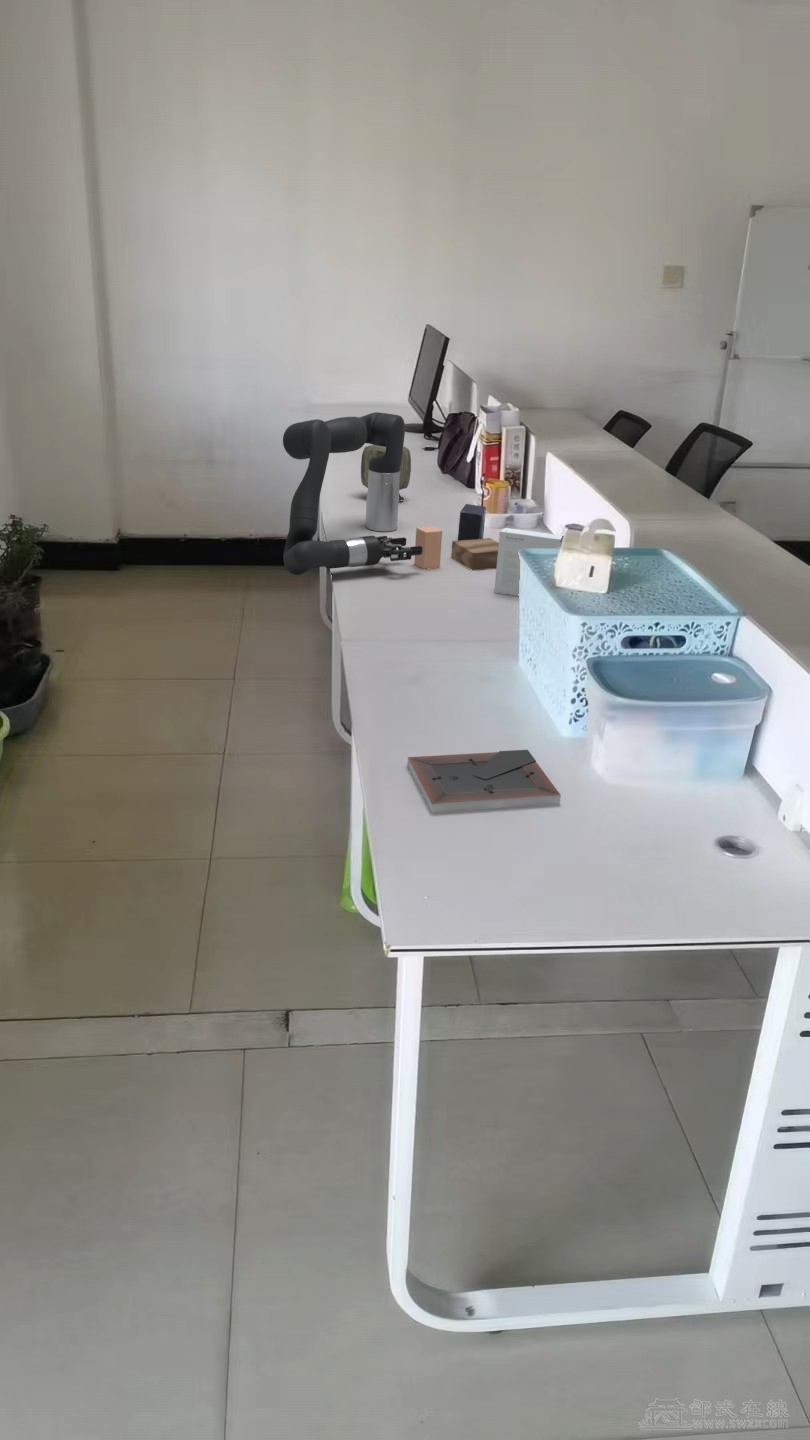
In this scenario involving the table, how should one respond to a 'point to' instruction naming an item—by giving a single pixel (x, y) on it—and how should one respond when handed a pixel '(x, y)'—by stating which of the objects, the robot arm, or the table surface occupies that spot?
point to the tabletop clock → (378, 451)
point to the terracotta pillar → (428, 547)
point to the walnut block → (476, 553)
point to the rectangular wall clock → (482, 781)
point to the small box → (471, 522)
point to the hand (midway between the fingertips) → (413, 545)
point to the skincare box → (509, 555)
